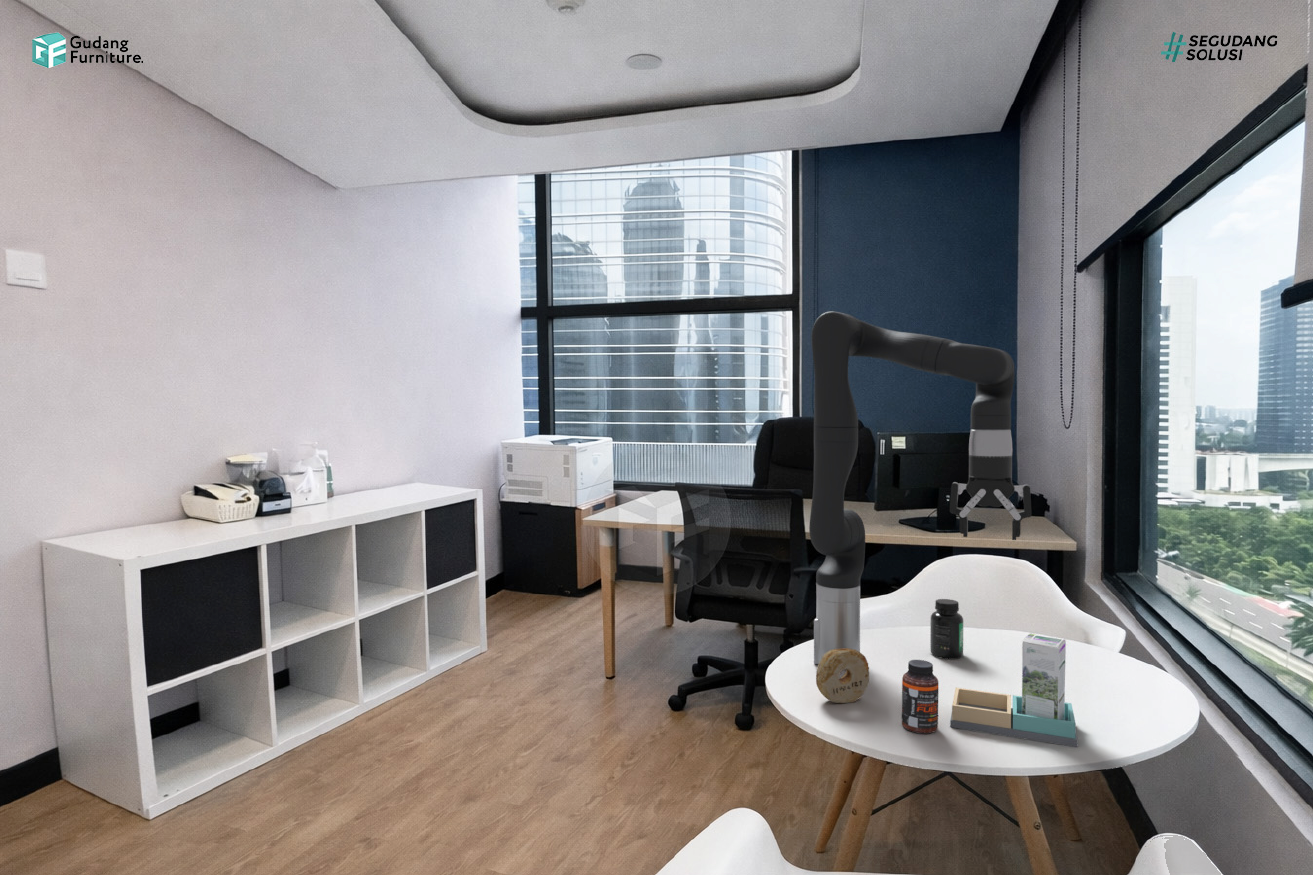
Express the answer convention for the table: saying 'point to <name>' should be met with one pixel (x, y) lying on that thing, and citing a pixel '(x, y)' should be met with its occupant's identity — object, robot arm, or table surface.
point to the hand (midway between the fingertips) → (989, 537)
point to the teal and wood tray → (1009, 718)
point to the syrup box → (1043, 676)
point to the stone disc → (850, 683)
